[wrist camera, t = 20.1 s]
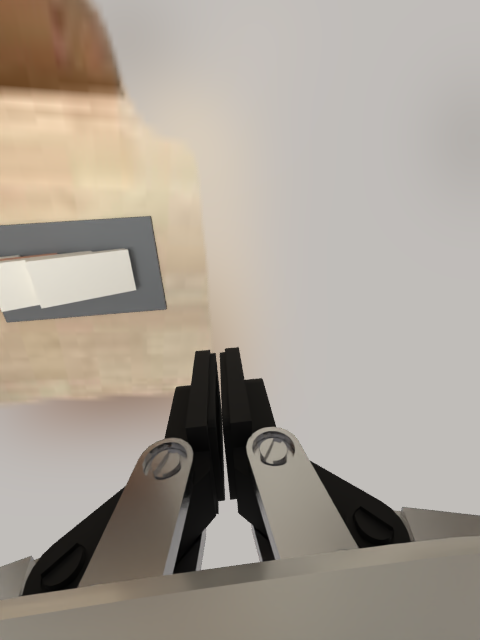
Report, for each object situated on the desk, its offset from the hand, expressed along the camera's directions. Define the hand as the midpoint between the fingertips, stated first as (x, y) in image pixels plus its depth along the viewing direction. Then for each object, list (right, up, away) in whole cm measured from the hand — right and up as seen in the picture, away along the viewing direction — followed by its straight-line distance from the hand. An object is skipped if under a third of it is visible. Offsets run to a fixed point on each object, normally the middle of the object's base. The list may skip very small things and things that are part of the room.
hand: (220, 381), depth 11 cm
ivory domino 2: (-13, +9, +23) cm, 28 cm away
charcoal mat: (-20, +9, +24) cm, 33 cm away
